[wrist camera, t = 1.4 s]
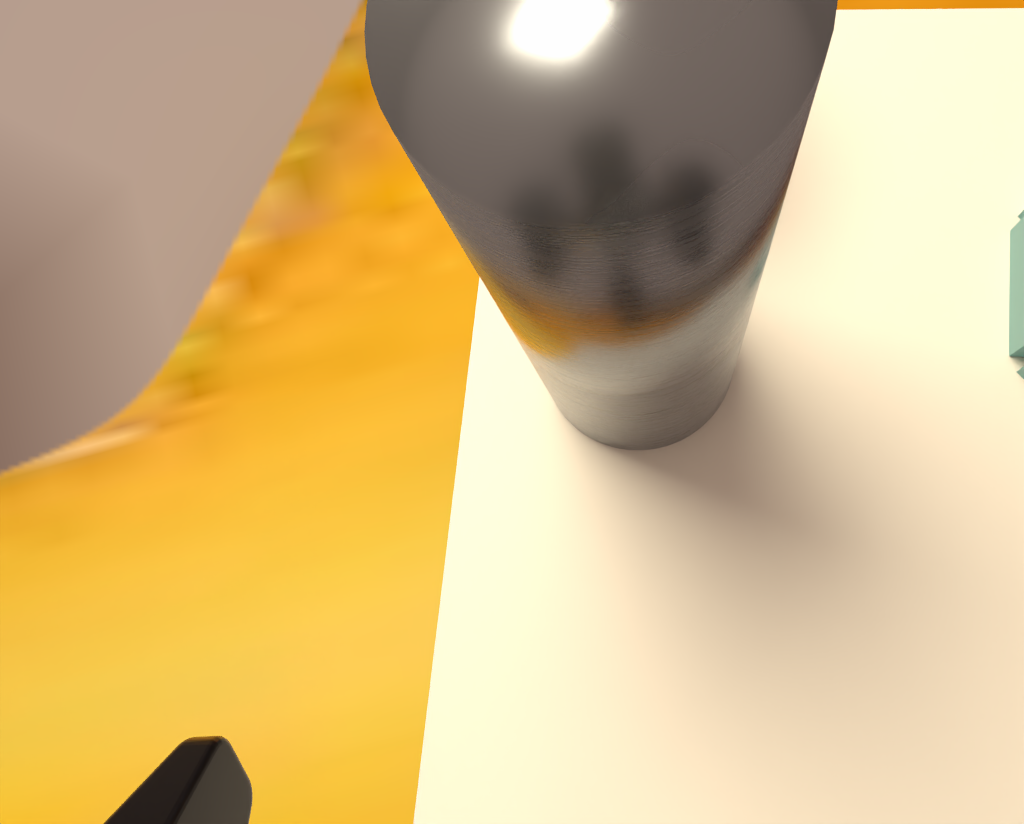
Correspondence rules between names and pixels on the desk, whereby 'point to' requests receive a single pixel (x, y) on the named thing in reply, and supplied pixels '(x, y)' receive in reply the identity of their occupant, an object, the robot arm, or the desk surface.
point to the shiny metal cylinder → (609, 179)
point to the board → (776, 505)
